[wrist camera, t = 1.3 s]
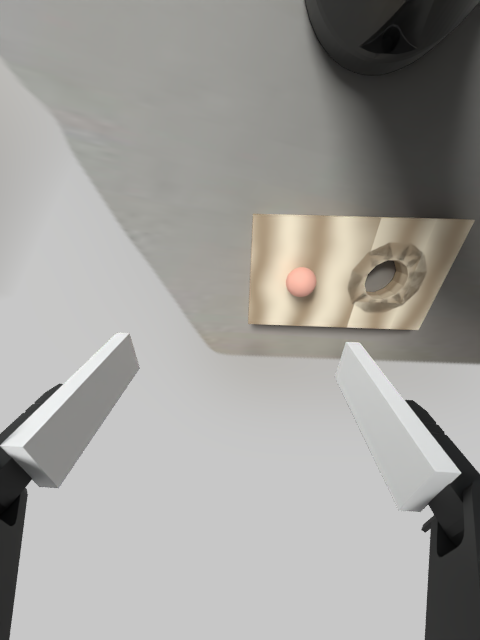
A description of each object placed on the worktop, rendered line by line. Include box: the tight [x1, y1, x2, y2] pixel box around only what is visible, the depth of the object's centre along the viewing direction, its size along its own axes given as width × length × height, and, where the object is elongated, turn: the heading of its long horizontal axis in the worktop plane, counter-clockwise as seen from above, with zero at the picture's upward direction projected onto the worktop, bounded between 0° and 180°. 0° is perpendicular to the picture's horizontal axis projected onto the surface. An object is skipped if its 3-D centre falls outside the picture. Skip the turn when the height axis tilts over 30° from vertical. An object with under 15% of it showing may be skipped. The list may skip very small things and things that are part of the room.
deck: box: [248, 214, 475, 330], centre depth 27 cm, size 24×14×2 cm, turn 89°
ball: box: [286, 267, 317, 297], centre depth 25 cm, size 4×4×4 cm
